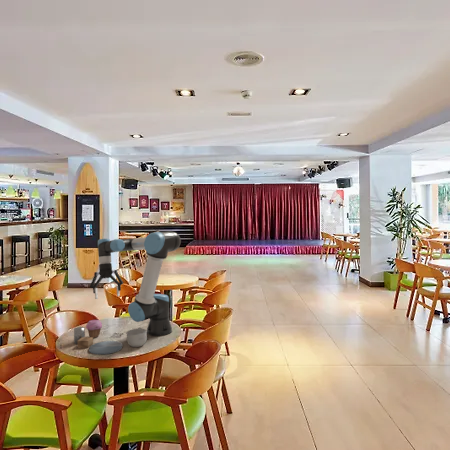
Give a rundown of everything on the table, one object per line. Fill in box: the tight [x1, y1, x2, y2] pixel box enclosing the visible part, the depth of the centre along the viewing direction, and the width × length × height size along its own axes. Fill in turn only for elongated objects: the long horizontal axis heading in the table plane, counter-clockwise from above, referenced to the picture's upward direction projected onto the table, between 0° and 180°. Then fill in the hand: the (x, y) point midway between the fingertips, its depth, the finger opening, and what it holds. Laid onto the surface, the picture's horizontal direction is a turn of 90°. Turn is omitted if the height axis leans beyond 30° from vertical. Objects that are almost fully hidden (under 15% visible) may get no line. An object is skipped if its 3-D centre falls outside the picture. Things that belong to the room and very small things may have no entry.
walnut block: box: [77, 336, 94, 349], centre depth 200 cm, size 6×6×4 cm
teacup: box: [125, 327, 148, 348], centre depth 202 cm, size 14×11×8 cm
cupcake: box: [85, 319, 103, 339], centre depth 215 cm, size 9×9×10 cm
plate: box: [88, 340, 123, 356], centre depth 196 cm, size 17×17×1 cm
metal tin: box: [73, 326, 86, 345], centre depth 206 cm, size 6×6×8 cm
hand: (107, 297), depth 227 cm, fingers open, 13 cm apart
